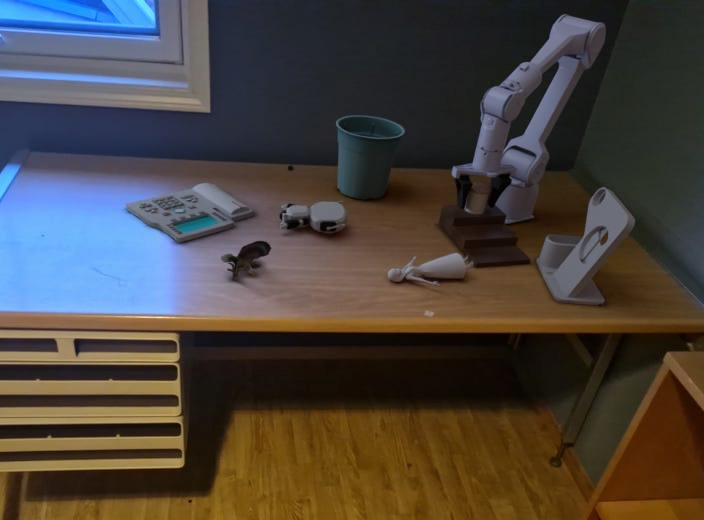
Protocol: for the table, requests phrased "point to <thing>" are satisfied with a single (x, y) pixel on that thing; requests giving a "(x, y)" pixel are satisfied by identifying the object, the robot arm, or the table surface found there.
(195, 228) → the office telephone
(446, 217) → the step shelf
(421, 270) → the woman figurine
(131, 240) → the table surface
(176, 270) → the table surface
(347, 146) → the flower pot
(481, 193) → the jar
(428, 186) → the table surface
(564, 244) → the phone holder
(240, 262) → the brown animal figurine
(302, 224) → the robot toy
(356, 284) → the table surface
